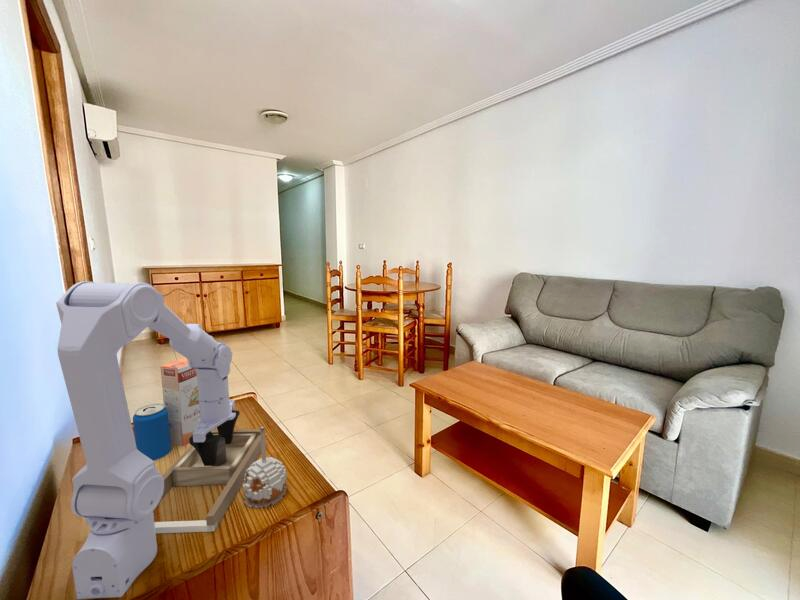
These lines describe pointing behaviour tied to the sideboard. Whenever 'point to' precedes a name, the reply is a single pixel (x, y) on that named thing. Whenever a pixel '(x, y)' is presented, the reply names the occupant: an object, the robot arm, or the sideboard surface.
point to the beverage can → (152, 430)
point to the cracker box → (180, 399)
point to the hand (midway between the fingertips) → (218, 453)
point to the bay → (223, 499)
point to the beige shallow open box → (227, 462)
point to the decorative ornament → (264, 480)
